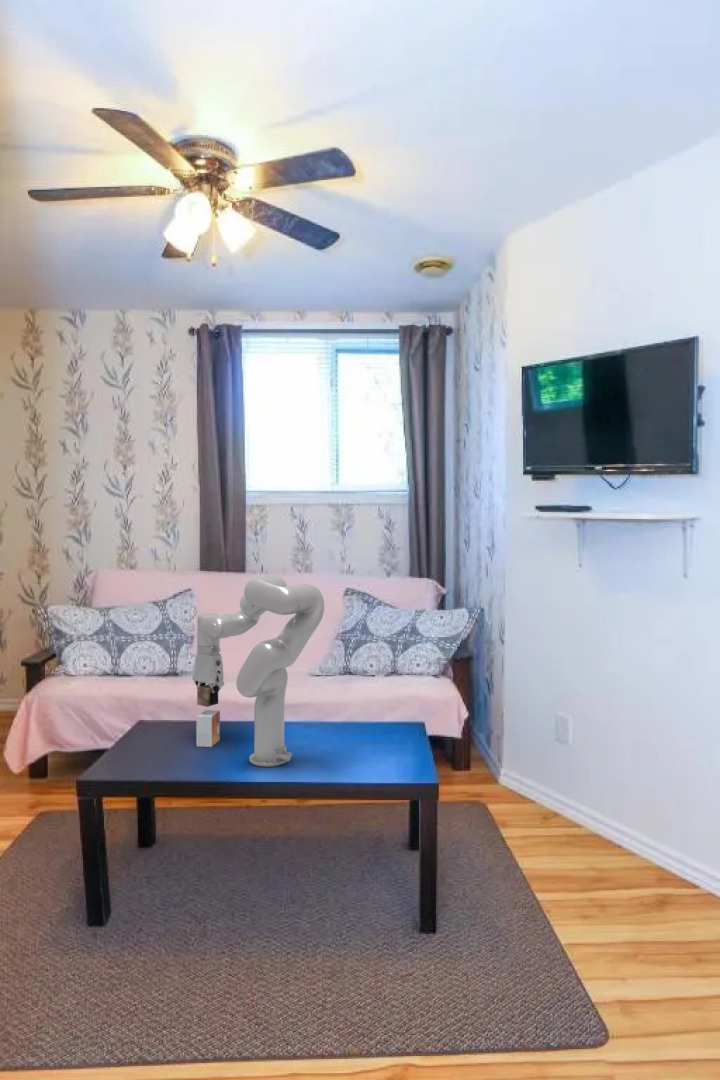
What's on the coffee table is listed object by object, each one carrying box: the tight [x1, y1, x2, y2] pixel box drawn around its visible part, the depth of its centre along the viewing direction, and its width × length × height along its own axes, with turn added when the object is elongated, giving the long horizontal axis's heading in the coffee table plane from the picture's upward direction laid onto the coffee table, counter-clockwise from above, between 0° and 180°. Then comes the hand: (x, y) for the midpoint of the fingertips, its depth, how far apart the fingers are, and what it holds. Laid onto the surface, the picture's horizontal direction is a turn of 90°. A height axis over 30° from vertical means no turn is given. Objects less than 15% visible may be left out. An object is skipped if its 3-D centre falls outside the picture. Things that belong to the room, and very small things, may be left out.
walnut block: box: [196, 683, 219, 708], centre depth 230 cm, size 5×5×6 cm
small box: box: [195, 709, 221, 748], centre depth 230 cm, size 8×6×10 cm
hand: (208, 701), depth 230 cm, fingers closed on walnut block, 5 cm apart
